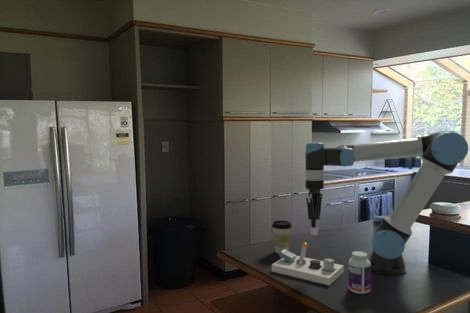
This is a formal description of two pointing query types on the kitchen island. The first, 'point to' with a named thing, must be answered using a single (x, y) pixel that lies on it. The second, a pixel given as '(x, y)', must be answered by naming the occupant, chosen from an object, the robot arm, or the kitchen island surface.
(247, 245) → the kitchen island surface
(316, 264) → the button black
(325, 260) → the button grey
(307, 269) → the panel
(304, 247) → the lever
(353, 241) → the kitchen island surface
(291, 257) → the slate blue block
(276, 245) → the coffee cup
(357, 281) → the pill bottle
